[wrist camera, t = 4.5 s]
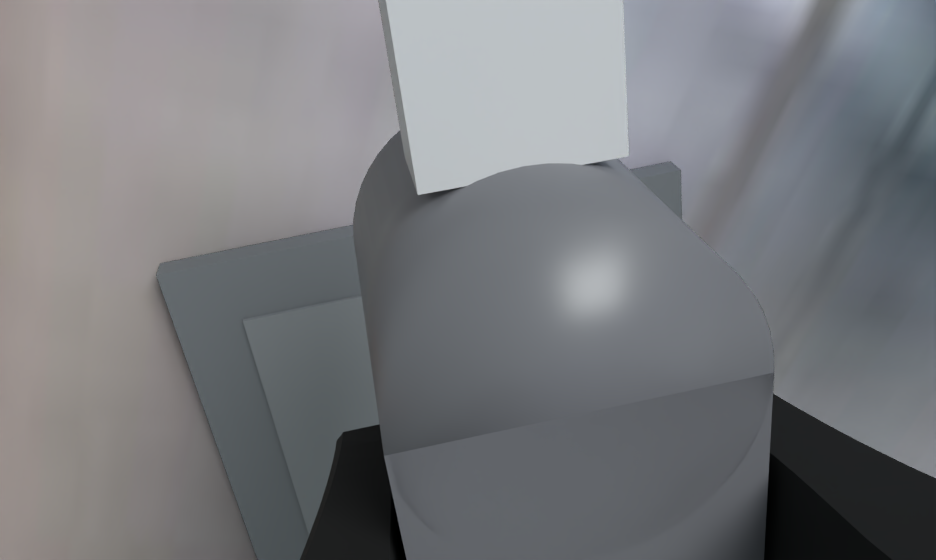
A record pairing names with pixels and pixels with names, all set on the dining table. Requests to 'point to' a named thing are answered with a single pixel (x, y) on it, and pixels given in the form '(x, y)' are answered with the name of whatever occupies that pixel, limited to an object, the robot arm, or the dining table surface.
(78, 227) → the dining table surface
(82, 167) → the dining table surface
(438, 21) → the plug
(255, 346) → the coaster
